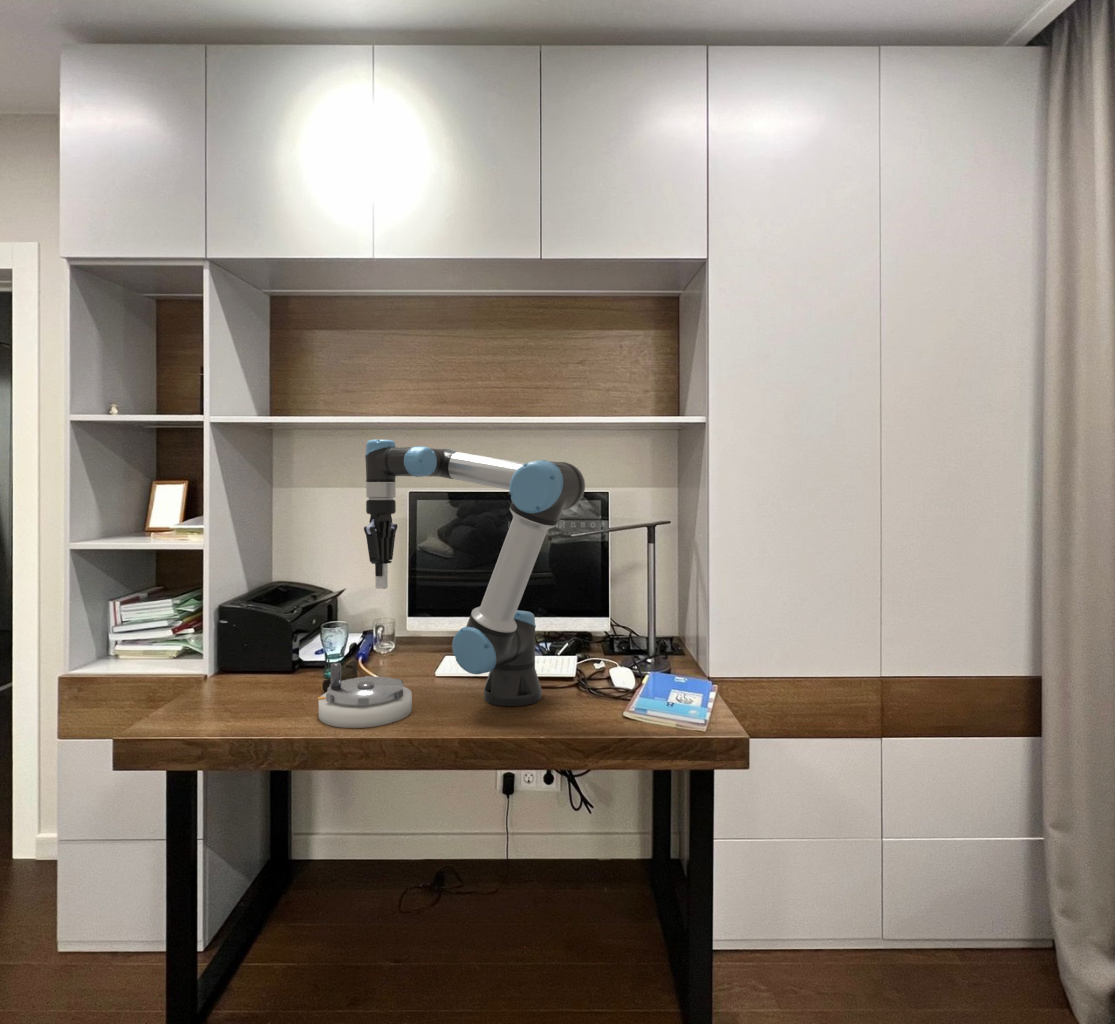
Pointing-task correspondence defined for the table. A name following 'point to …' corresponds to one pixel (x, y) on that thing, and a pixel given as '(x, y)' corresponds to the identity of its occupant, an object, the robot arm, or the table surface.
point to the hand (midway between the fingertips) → (381, 588)
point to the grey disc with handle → (362, 689)
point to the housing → (365, 712)
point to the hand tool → (343, 674)
